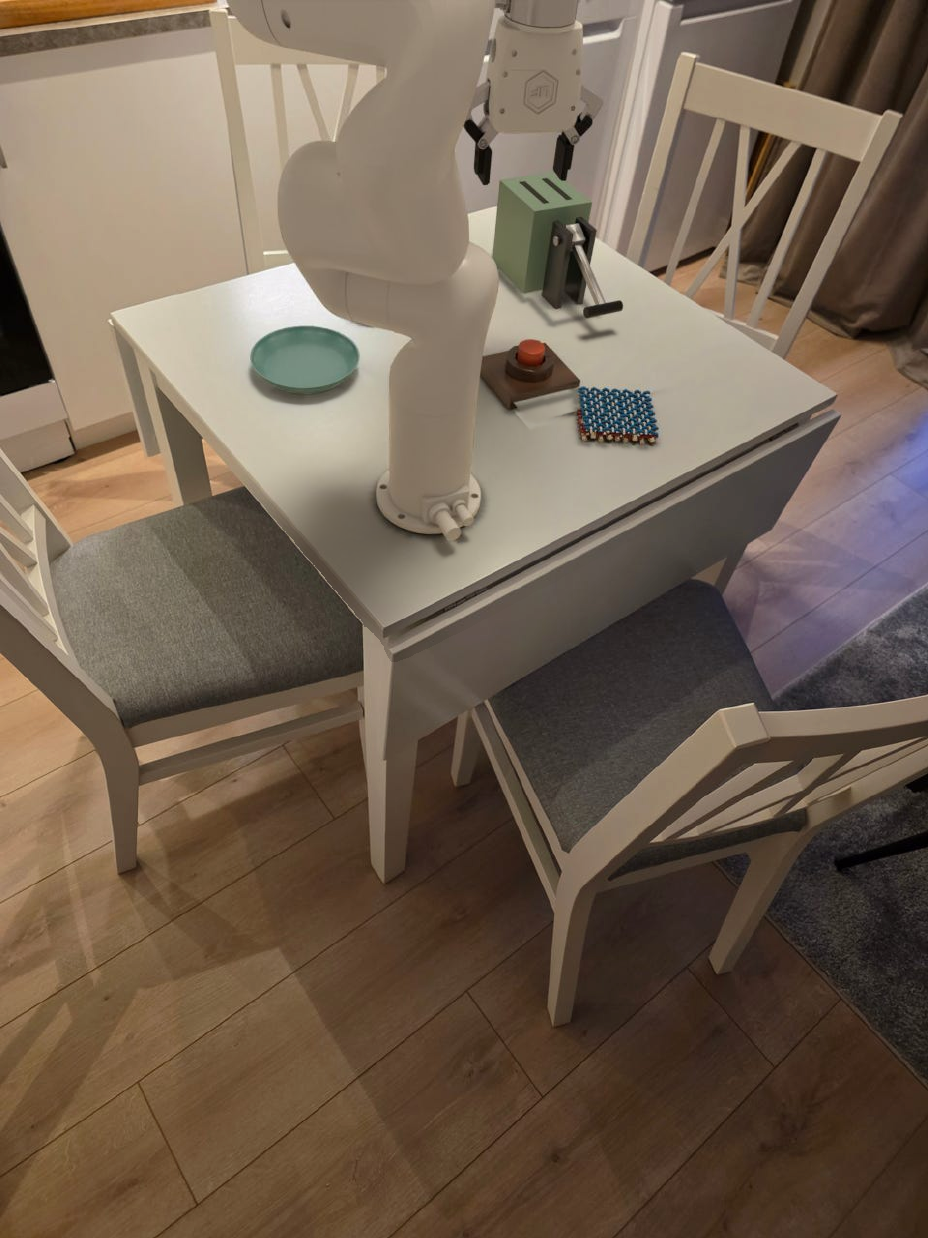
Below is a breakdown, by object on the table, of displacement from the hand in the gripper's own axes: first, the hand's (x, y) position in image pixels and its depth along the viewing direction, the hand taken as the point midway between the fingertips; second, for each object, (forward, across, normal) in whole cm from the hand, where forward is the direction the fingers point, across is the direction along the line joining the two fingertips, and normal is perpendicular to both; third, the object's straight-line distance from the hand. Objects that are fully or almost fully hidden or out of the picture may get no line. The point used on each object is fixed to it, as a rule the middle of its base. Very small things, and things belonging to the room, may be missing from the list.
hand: (521, 177), depth 98 cm
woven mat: (+26, +12, -15) cm, 32 cm away
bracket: (+26, +14, +14) cm, 33 cm away
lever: (+19, +15, +9) cm, 26 cm away
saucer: (+26, -27, +3) cm, 38 cm away
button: (+22, +3, -5) cm, 23 cm away
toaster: (+26, +13, +23) cm, 37 cm away
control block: (+26, +2, -5) cm, 26 cm away
